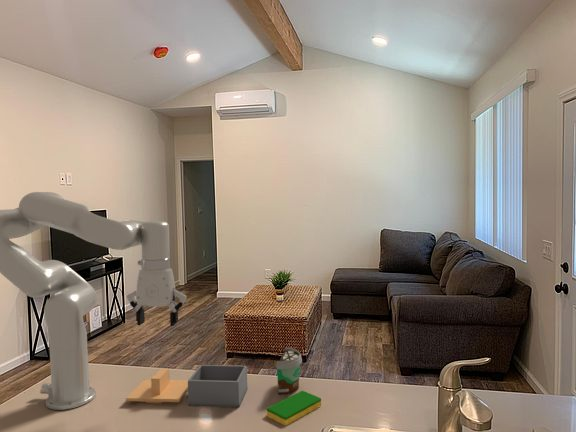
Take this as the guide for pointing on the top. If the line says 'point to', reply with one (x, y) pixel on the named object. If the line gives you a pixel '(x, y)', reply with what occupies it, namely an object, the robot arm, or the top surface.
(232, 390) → the tub
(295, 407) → the dish sponge
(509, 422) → the top surface
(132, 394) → the lid
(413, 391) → the top surface
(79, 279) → the robot arm
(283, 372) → the food container
